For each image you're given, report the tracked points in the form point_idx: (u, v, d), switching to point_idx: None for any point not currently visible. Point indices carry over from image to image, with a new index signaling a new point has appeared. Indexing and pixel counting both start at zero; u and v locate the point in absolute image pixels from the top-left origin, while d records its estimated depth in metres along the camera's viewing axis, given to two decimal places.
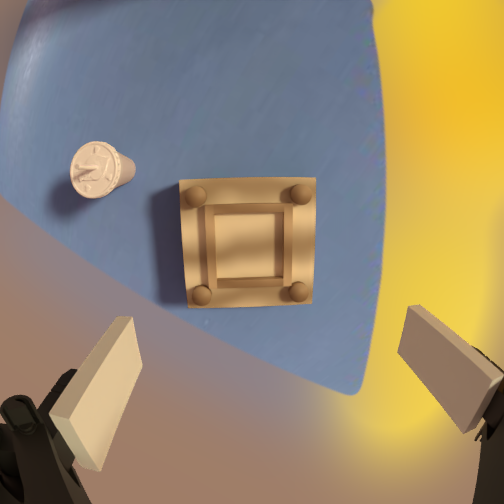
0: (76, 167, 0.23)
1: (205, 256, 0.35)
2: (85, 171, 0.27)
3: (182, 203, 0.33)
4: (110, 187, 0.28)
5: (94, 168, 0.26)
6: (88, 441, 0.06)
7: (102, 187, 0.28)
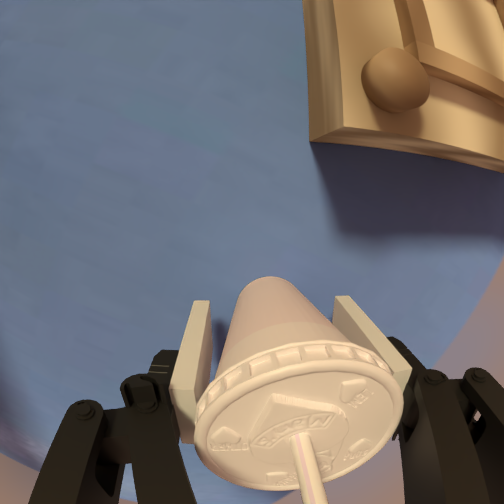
0: None
1: (498, 109, 0.09)
2: None
3: (407, 128, 0.09)
4: (390, 378, 0.07)
5: (311, 451, 0.06)
6: None
7: (379, 405, 0.07)
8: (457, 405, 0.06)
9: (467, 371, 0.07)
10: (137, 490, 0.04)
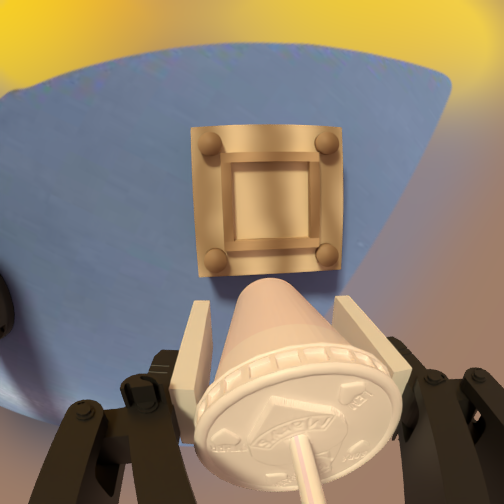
0: None
1: (283, 249, 0.32)
2: None
3: (224, 273, 0.32)
4: (389, 380, 0.07)
5: (310, 452, 0.06)
6: None
7: (378, 407, 0.07)
8: (457, 405, 0.06)
9: (467, 371, 0.07)
10: (137, 490, 0.04)
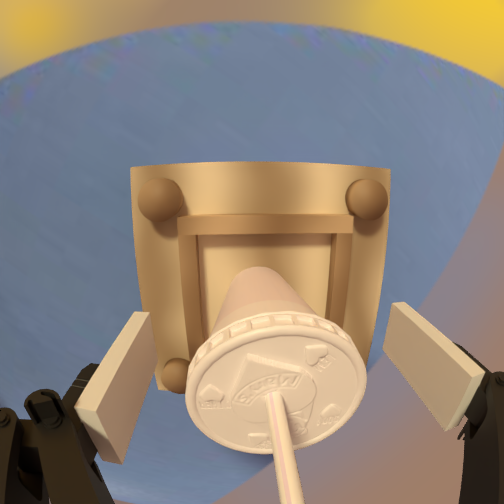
0: None
1: None
2: None
3: None
4: (350, 346, 0.08)
5: (282, 406, 0.08)
6: (112, 433, 0.07)
7: (343, 371, 0.09)
8: None
9: None
10: None
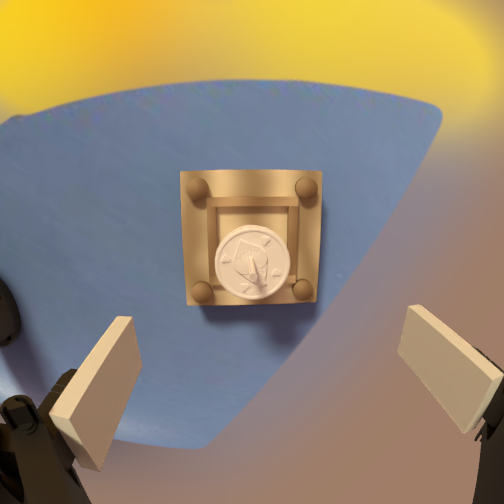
0: (253, 277, 0.20)
1: None
2: None
3: (209, 303, 0.35)
4: (279, 238, 0.24)
5: (252, 259, 0.23)
6: (88, 441, 0.06)
7: (277, 250, 0.24)
8: None
9: None
10: None
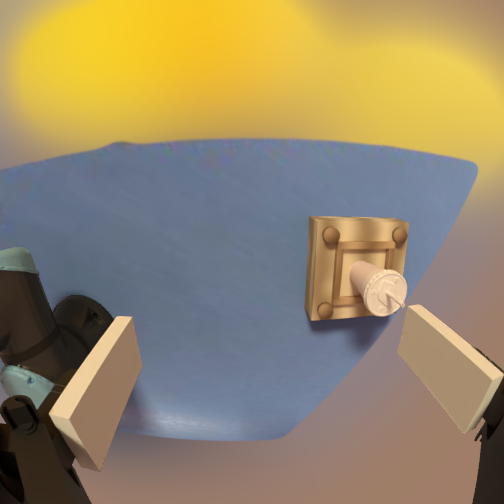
0: (402, 305, 0.30)
1: None
2: (387, 301, 0.35)
3: (327, 318, 0.46)
4: (403, 278, 0.34)
5: (390, 292, 0.34)
6: (88, 441, 0.06)
7: (401, 285, 0.35)
8: None
9: None
10: None
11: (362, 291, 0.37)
